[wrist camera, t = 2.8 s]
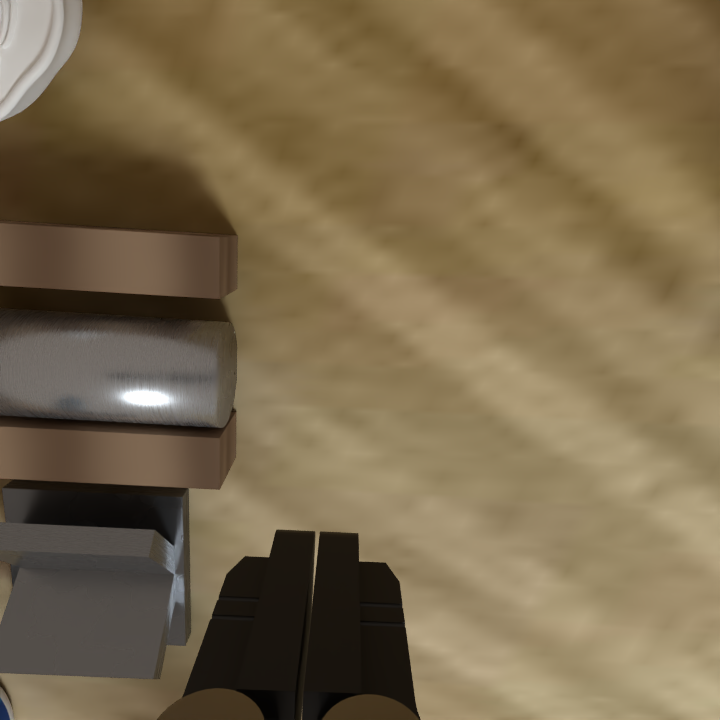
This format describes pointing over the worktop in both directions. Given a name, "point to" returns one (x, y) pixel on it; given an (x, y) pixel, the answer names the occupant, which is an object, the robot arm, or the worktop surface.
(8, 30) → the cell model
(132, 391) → the grey metal cylinder
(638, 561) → the worktop surface
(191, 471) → the slotted block
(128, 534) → the v block
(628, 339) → the worktop surface
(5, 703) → the beverage bottle
